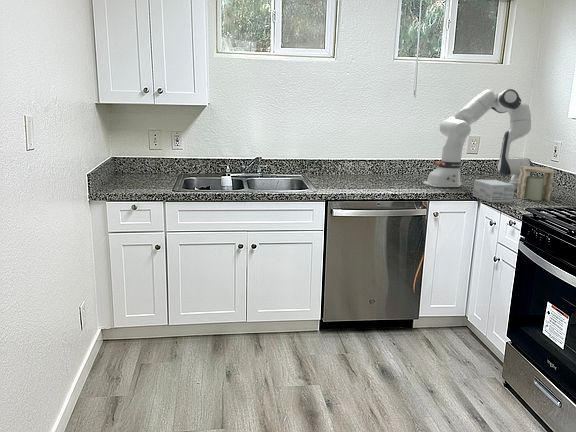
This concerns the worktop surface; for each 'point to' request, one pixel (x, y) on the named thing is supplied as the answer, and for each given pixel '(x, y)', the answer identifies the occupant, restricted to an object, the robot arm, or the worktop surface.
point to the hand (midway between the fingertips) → (532, 188)
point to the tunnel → (547, 181)
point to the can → (534, 188)
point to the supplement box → (493, 191)
